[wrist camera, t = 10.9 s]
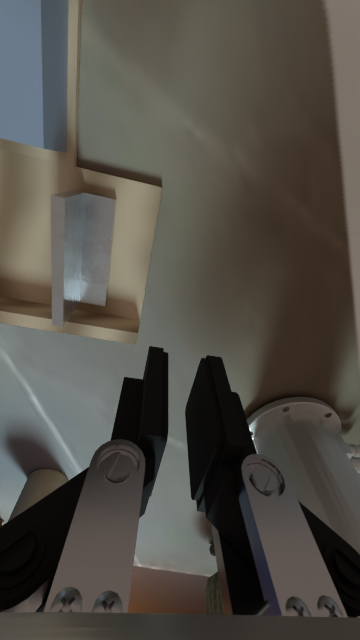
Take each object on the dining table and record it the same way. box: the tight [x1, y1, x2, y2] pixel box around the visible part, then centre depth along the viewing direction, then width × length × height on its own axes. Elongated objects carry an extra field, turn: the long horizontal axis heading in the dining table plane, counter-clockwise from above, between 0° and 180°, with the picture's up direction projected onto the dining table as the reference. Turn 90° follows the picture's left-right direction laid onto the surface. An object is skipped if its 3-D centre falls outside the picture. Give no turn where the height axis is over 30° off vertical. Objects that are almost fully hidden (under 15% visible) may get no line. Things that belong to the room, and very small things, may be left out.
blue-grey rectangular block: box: [0, 0, 69, 153], centre depth 15 cm, size 6×9×4 cm, turn 168°
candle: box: [8, 469, 68, 522], centre depth 34 cm, size 6×6×10 cm
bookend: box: [51, 190, 116, 327], centre depth 20 cm, size 3×9×5 cm, turn 168°
